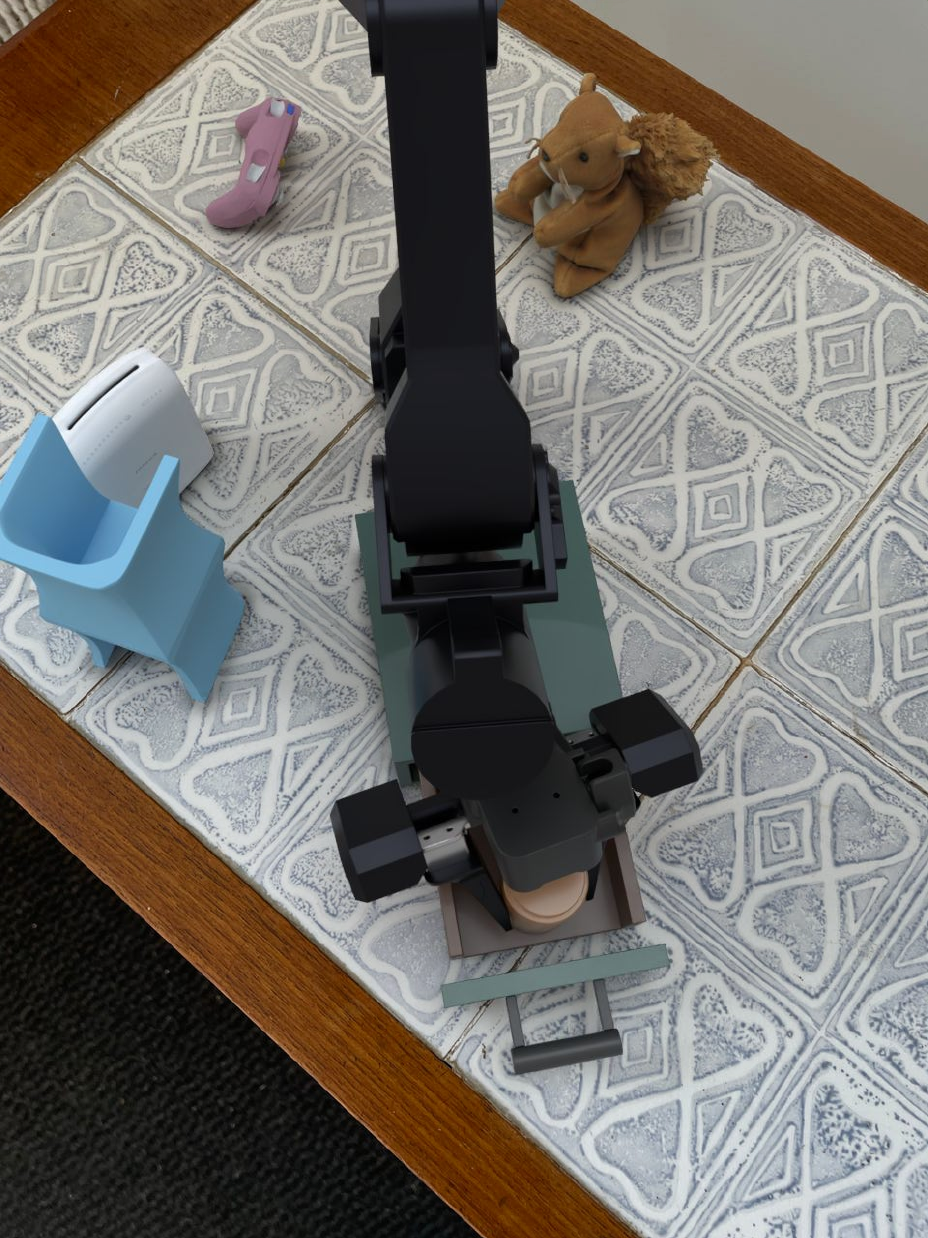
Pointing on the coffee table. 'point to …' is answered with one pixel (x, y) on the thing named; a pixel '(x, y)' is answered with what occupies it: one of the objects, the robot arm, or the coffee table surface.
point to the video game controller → (258, 163)
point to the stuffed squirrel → (602, 183)
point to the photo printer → (133, 427)
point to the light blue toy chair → (118, 562)
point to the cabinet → (559, 629)
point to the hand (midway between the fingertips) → (547, 911)
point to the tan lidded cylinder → (545, 903)
